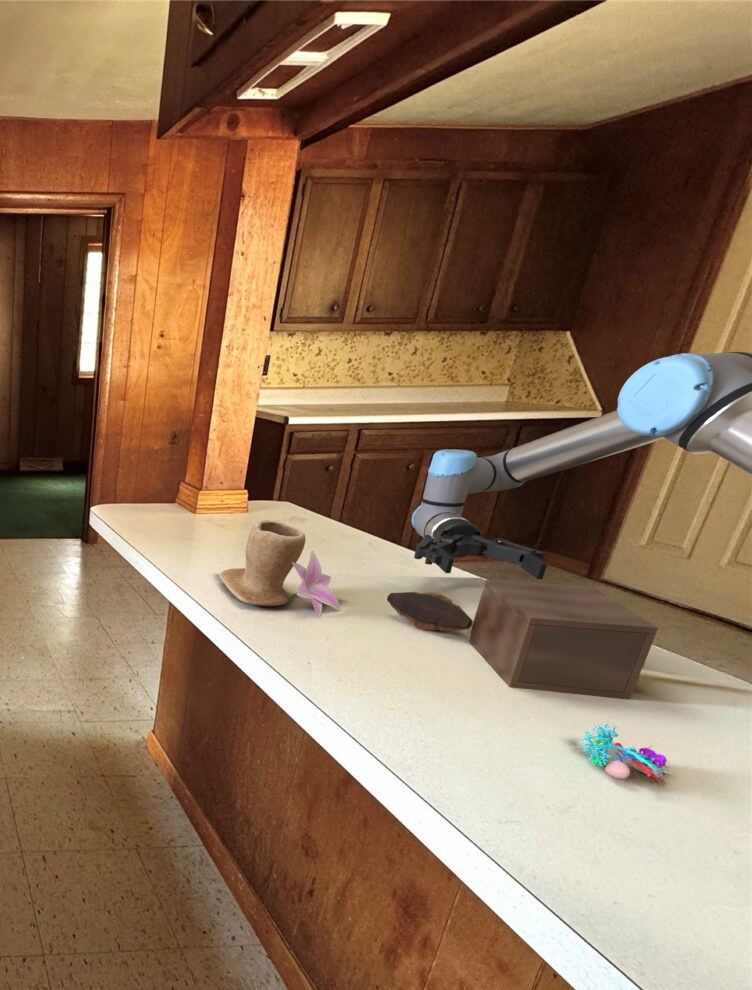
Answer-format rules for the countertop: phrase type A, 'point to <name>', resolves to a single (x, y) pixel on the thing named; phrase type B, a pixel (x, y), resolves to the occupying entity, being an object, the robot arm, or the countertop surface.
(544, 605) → the cabinet
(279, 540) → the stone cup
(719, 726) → the countertop surface
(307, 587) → the lily
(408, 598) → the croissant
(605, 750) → the anatomy model
